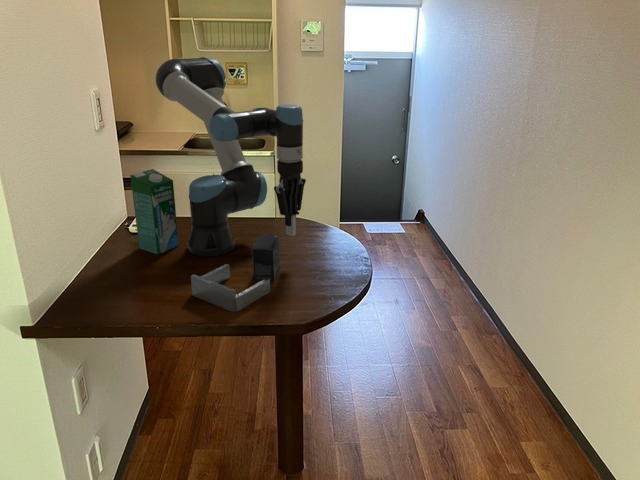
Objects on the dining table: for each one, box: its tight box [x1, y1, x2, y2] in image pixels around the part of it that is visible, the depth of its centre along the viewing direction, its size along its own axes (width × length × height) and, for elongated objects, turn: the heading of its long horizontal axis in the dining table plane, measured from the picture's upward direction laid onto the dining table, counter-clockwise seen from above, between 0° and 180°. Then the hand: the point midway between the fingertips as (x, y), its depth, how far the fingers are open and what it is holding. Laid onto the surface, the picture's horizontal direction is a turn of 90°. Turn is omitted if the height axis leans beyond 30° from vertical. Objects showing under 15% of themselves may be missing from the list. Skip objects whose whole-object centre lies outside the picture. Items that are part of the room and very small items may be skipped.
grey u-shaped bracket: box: [190, 263, 271, 313], centre depth 145 cm, size 16×14×6 cm
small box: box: [252, 234, 281, 283], centre depth 156 cm, size 11×6×10 cm, turn 175°
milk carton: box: [129, 168, 180, 255], centre depth 170 cm, size 9×9×25 cm
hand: (290, 234), depth 163 cm, fingers closed
